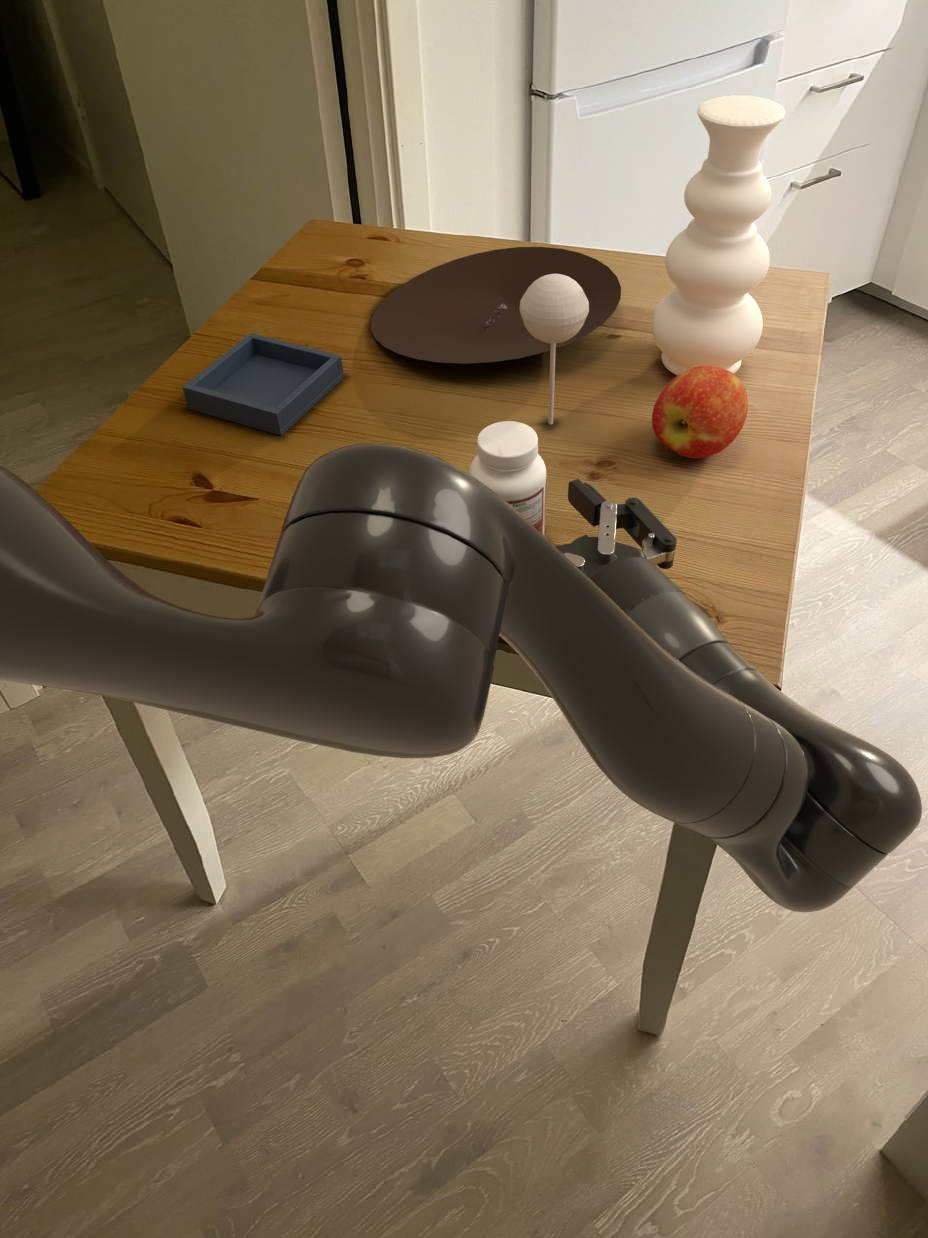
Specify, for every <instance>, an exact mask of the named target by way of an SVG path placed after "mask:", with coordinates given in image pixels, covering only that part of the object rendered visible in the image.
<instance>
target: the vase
mask: <svg viewBox="0 0 928 1238" xmlns="http://www.w3.org/2000/svg"><path fill="white" fill-rule="evenodd" d="M696 111H697V112H696V113H697V116H698V118H699V120H700V122H701V124H702V125H703V127H704V128H705V130H706V132H707V135H708V137H709V145H708V151H707V152H708V153H707V158H705V159H704V161H703V163H702V166H701V169H700V170H699V171H697V172H696V173H695V174H694V175H693V176H692V177H691V178H690V179H689V181H688V182H687V184H686V186H685V188H684V193H683V199H684V204H685V206H686V210H687V211H688V212H689V214H690V215H691V216H692V217H693V219H692V220H690V221H689V223H688V225H687V227H686V228H684V229H683V230H682V231H680V232H679V233H678V234H677V235H676V236H675V237H673V239H672V241H671V242H670V244H669V245H668V248H667V249H666V253H665V259H664V263H665V269H666V273H667V275H668V277H669V279H670V280H671V282H672V283H673V284H674V286H676V287H675V288H673V289H672V290H671V291H669V292H668V293H666V294H665V295H664V297H663V298H661V300H660V301H659V302H658V303H657V306H656V308H655V309H654V312H653V315H652V319H651V333H652V337H653V339H654V342H655V344H656V346H657V347H658V349H659V350H660V351H661V362H662V365H664V367H665V368H666V369H667V371H669V372H670V373H672V374H674V375H675V376H678V375H679V374H681V373H682V372H684V371H686V370H689V369H691V368H694V367H699V366H714V367H720V368H723V369H726V370H728V371H730V372H732V373H733V374H734V375H735V373H737V371H738V370H739V369H740V368H741V367H742V366H741V365H742V361H743V360H744V359H745V358H746V357H748V356H749V355H750V354H751V353H752V352H753V351H754V349H755V348H756V346H757V345H758V343H759V341H760V339H761V337H762V334H763V329H764V328H763V327H764V319H763V314H762V312H761V309H760V307H759V305H758V303H757V302H756V300H755V299H754V298H753V297H752V296H751V294H749V293H750V292H751V291H753V290H754V289H756V288H757V287H758V286H759V285H760V284H761V283H762V282H763V281H764V279H765V277H766V275H767V274H768V272H769V268H770V264H771V253H770V250H769V247H768V245H767V243H766V242H765V240H764V238H763V237H762V236H761V235H760V234H759V233H758V228H757V226H756V224H755V223H754V222H755V221H756V220H758V219H759V218H760V217H762V216H763V215H764V214H765V213H766V212H767V209H768V208H769V207H770V204H771V201H772V196H773V194H772V187H771V184H770V182H769V180H768V178H767V177H766V176H765V174H763V164H762V163H761V161H760V158H761V153H762V148H763V144H764V141H765V139H766V138H767V137H768V135H769V134H770V133H771V132H772V131H773V130H775V129H776V127H777V126H778V125H779V124H781V122H782V121H783V120H784V118H785V116H786V109H785V107H784V106H782V105H781V104H779V103H778V102H776V101H774V100H772V99H768V98H765V97H761V96H755V95H746V94H745V95H744V94H734V95H730V94H729V95H723V96H717V97H712V98H710V99H707V100H706V101H703V102H702V103H701V104H699V105H698V107H697V110H696Z"/></svg>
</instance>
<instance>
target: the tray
mask: <svg viewBox="0 0 928 1238" xmlns="http://www.w3.org/2000/svg"><path fill="white" fill-rule="evenodd" d="M344 378H345V373H344V367H343V359H342V355H340V354H336V353H332V352H330V351H329V352H328V351H324V350H320V349H317V348H312V347H309V346H304V345H302V344H301V345H300V344H296V343H292V342H288V341H284V340H281V339H277V338H274V337H273V338H271V337H268V336H264V335H261V334H256V333H253V332H250V333H249V334H248V335H247V336H245V337H243V338H242V339H241V340H240V341H238V342H237V344H235V345H234V346H232V347H231V348H229V350H228V351H226V352H225V353H224V354H222V355H221V356H220V357H218V358H217V359H216V360H215V361H214V362H212V363H211V364H209V365H208V366H207V367H206V368H204V369H203V370H202V371H201V372H199V373H198V374H197V375H195V377H193V378H192V379H190V380H189V382H187V383H186V384H185V385H183V386H182V390H183V394H184V397H185V401H186V404H187V407H188V409H189V410H191V411H194V412H197V413H202V414H205V415H209V416H212V417H215V418H219V419H222V420H225V421H229V422H232V423H236V424H239V425H243V426H246V427H249V428H252V429H256V430H260V431H262V432H266V433H270V434H273V435H277V436H280V437H282V436H283V435H285V433H287V432H288V431H289V430H290V429H291V428H292V427H293V426H294V425H295V424H296V423H297V422H298V421H299V420H301V419H302V417H304V416H305V415H306V414H307V413H308V412H309V411H310V410H311V409H312V408H313V407H315V406H316V405H317V404H318V403H319V402H320V401H321V400H322V399H323V398H324V397H325V396H326V395H327V394H328V393H329V392H330V391H332V389H333V388H335V387H336V386H337V385H338V384H339V383H340V382H341V381H342V380H343V379H344Z"/></svg>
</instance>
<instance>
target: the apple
mask: <svg viewBox="0 0 928 1238" xmlns="http://www.w3.org/2000/svg"><path fill="white" fill-rule="evenodd" d="M746 389H747V388H746V387H745V385H744V383H743V381H742V380H741V379H740V378H739V377H738V376H737V375H736V374H735V373H734V374H733V373H732V372H730V371H728V370H726V369H723V368H720V367H714V366H699V367H694V368H691V369H689V370H686V371H684V372H682V373H681V374H679V375H678V376H677V375H675V377H673V378H672V379H671V380H670V381H669V382H668V383H667V384H666V386H665V387H664V388H663V389H662V390H661V392H660V394H659V395H658V397H657V398H656V400H655V403H654V405H653V409H652V413H651V426H652V430H653V432H654V435H655V436H656V439H657V440H658V441H659V442H660V444H661V445H663V446H664V447H666V448H667V449H669V450H670V451H672V452H674V453H675V454H677V455H678V456H681V457H684V458H689V459H705V458H706V459H707V458H709V457H711V456H715V455H716V454H719V453H721V452H723V451H724V450H726V449H727V448H728V447H729V446H730V445H731V444H732V443H733V442H734V441H735V440H736V439H737V437H738V436H739V434H740V433H741V431H742V430H743V428H744V425H745V423H746V420H747V416H748V410H749V409H748V408H749V399H748V393H747V390H746Z"/></svg>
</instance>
